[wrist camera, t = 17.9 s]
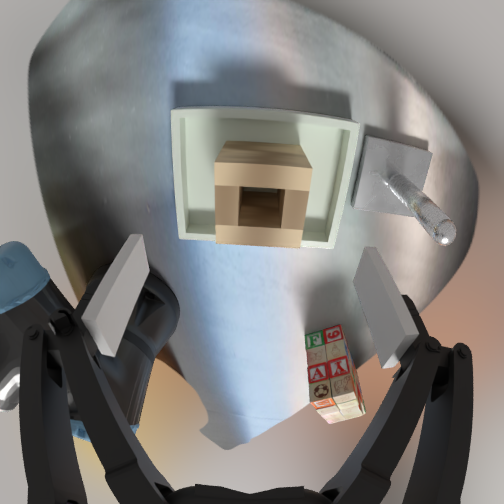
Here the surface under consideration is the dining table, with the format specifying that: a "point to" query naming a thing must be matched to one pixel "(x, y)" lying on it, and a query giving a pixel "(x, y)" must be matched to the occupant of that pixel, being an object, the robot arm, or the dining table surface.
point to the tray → (260, 130)
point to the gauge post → (399, 186)
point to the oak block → (261, 194)
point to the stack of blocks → (333, 376)
